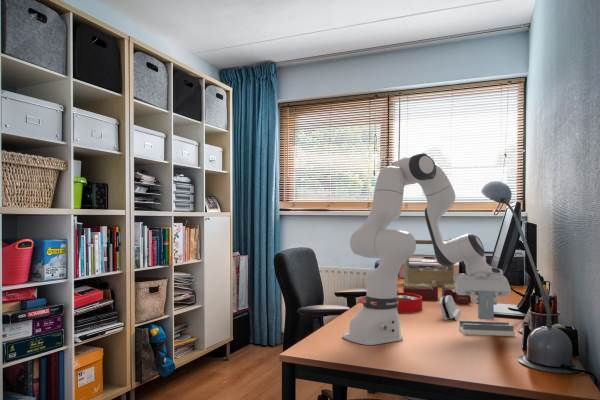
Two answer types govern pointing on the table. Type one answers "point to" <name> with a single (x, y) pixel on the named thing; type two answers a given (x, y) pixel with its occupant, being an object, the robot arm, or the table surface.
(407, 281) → the caddy
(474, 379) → the table surface
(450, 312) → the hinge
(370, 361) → the table surface
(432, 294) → the toy houses
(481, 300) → the door panel
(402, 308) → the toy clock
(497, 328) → the track base
